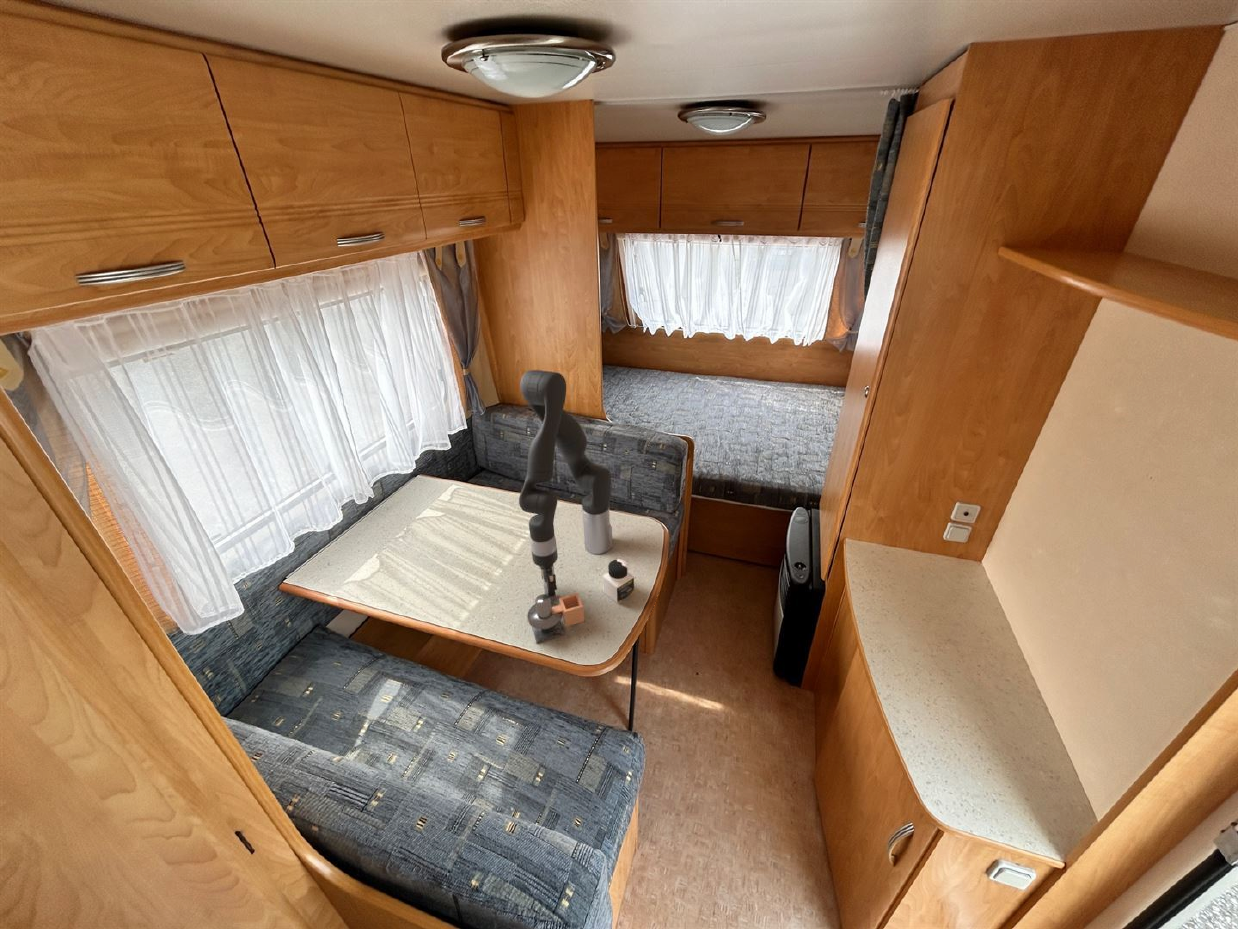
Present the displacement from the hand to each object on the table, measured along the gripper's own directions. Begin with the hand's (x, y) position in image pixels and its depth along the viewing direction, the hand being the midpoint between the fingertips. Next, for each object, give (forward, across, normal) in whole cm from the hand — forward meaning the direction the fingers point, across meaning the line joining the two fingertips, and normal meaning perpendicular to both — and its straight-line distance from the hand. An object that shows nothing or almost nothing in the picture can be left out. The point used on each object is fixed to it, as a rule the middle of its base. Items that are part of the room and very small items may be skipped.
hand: (548, 587), depth 160 cm
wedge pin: (+4, 0, 0) cm, 4 cm away
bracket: (+2, -12, -2) cm, 12 cm away
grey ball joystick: (+4, -12, +4) cm, 13 cm away
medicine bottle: (+5, -6, -21) cm, 22 cm away
